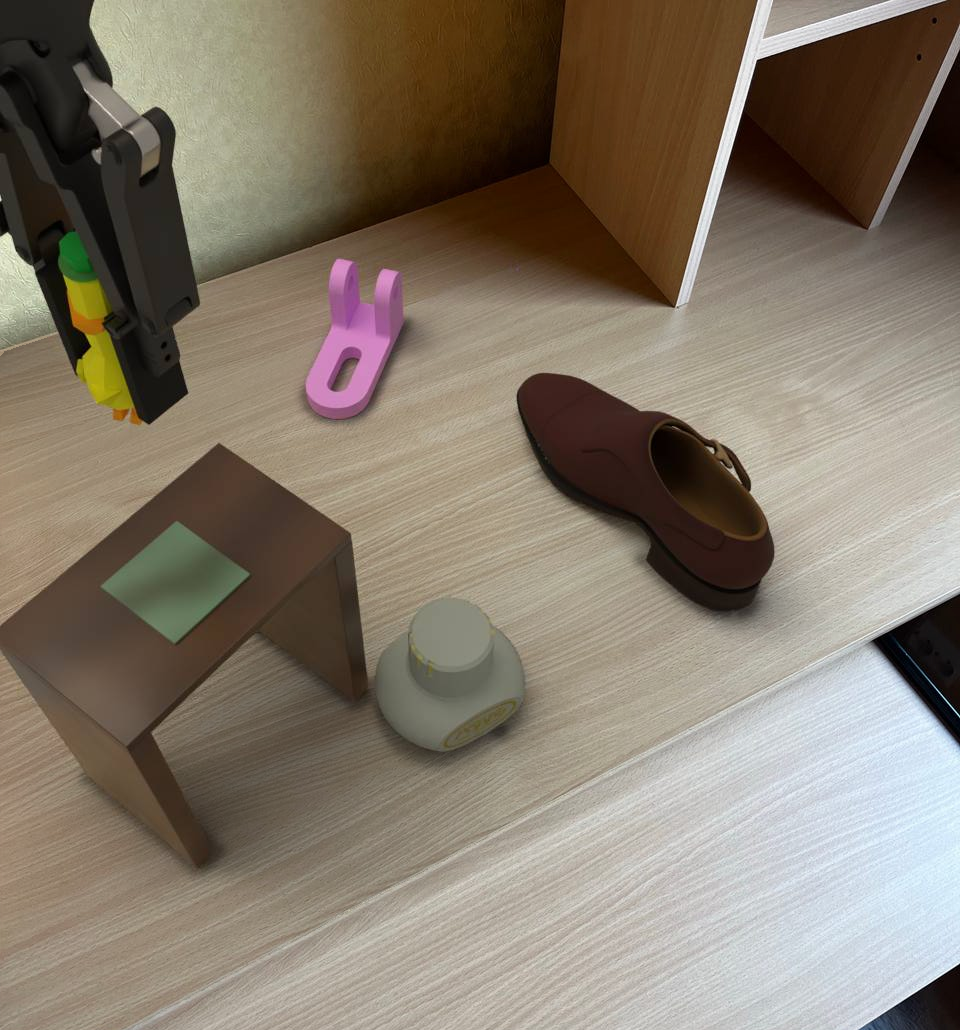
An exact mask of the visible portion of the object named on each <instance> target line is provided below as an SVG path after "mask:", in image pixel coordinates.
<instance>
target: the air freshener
mask: <svg viewBox="0 0 960 1030" xmlns="http://www.w3.org/2000/svg"><path fill="white" fill-rule="evenodd" d="M525 677H526V676H525V668H524V665H523V662H522V658H521V656H520V654H519V652H518V650H517V648H516V647H515V645H514V644H513V642H512V641H511V640H510V638H509V637H508V636H507V635H506V634H505V633H504V632H503V631H502V630H501V629H499V627H497V626H495V625H494V624H493V623H492V621H491V620H490V616H489V615H488V613H487V612H485V611H484V610H483V609H482V608H481V607H480V606H479V605H477V604H476V603H471V602H470V601H469V600H467V599H464V598H459V597H442V598H438V599H434V600H432V601H430V602H428V603H426V604H425V605H423V606H422V607H420V608H419V609H418V610H417V611H416V613H414V615H413V617H412V618H411V619H410V623H409V626H408V630H407V631H405V632H404V633H402V634H401V635H399V636H398V637H397V638H395V639H393V641H392V642H390V644H388V645H387V646H386V647H385V649H383V650H382V652H381V654H379V658H378V660H377V662H376V666H375V674H374V691H375V696H376V701H377V704H378V706H379V708H380V711H381V713H382V715H383V717H384V718H385V720H386V721H387V722H388V724H389V725H390V726H391V727H392V728H393V729H394V731H395V732H396V733H397V734H399V735H400V736H401V737H403V738H404V739H406V741H409V742H410V743H412V744H415V745H417V746H418V747H421V748H424V749H427V750H431V751H437V752H440V753H442V752H443V753H444V752H449V751H453V750H455V749H458V748H461V747H463V746H466V745H467V744H469V743H472V742H473V741H476V740H478V739H479V738H481V737H482V736H485V735H486V734H488V733H489V732H491V731H492V730H494V729H495V728H497V727H498V726H500V725H501V724H502V723H504V722H505V721H506V720H507V719H509V718H510V717H511V716H512V715H513V714H514V713H515V712H516V711H517V710H518V709H519V708H520V707H521V705H522V703H523V699H524V696H525V690H526V678H525Z"/></svg>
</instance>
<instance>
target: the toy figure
mask: <svg viewBox="0 0 960 1030" xmlns="http://www.w3.org/2000/svg"><path fill="white" fill-rule="evenodd" d="M59 246H60V255H59V259H58V265H59V268H60V270H61V272H62V273H63V276H64V280H65V283H66V286H67V289H68V290H67V296H68V301H69V306H70V312H71V317H72V323H73V326H74V327H76V328H77V329H79V330H80V331H82V332H84V333H85V335H86V337H87V339H88V341H89V343H90V345H91V348H90V349H89V350H88V351H87V352H86V353H85V354H84V355H83V356H82V358H83V359H78V363H77V369H76V372H77V374H78V376H77V378H78V379H79V381H80V382H81V383H82V385H84V384H85V383H86V385H87V388H88V390H89V394H90V396H91V397H92V398H93V399H94V401H95V404H96V405H100V406H105V407H109V408H112V420H113V421H118V422H119V421H120V422H124V420H125V419H126V417H127V416H128V414H129V412H130V417H129V424H132V425H136V426H141V425H142V423H143V422H144V421H142V420H141V419H139V418H138V416H137V413H136V410H135V407H134V404H133V401H132V398H131V395H130V393H129V390H128V387H127V384H126V381H125V378H124V375H123V372H122V370H121V367H120V364H119V361H118V358H117V355H116V352H115V349H114V347H113V344H112V341H111V338H110V335H109V333H108V332H107V331H106V330H105V328H104V327H103V325H102V324H101V323H102V322H104V317H105V316H107V315H108V314H109V313H111V312H112V311H113V310H112V308H111V306H110V303H109V301H108V299H107V297H106V295H105V292H104V290H103V288H102V286H101V284H100V282H99V279H98V277H97V275H96V273H95V271H94V269H93V266H92V264H91V262H90V260H89V258H88V256H87V253H86V251H85V249H84V247H83V245H82V243H81V240H80V238H79V236H78V234H77V232H68V233H67V234H66V235H65V236H64V237H63V238H62V239H61V240H60V241H59Z"/></svg>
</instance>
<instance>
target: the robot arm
mask: <svg viewBox="0 0 960 1030" xmlns="http://www.w3.org/2000/svg"><path fill="white" fill-rule="evenodd" d="M94 3H95V0H0V238H1V237H3V236H5V235H6V234H9V236H10V237H11V240H12V243H13V246H14V249H15V252H16V254H17V255H18V256H19V258H20V259H21V260H22V261H23V262H24V263H26V264H27V265H29V266H30V267H31V266H32V269H33V270H34V275H35V278H36V280H37V283H38V285H39V289H40V290H41V293H42V295H43V298H44V301H45V302H46V305H47V307H48V310H49V313H50V315H51V318H52V320H53V322H54V325H55V327H56V330H57V333H58V335H59V337H60V340H61V343H62V346H63V347H64V350H65V352H66V355H67V358H68V360H69V363H70V365H71V367H72V370H73V373H74V376H76V377H78V374H77V372H76V369H77V363H78V359H83V358H82V356H83V355H84V354H85V353H86V352H87V351H88V350H89V349H90V348H91V345H90V343H89V341H88V339H87V337H86V335H85V333H84V332H82V331H80V330H79V329H77V328H76V327H74V326H73V323H72V317H71V312H70V306H69V301H68V296H67V290H68V289H67V286H66V283H65V280H64V276H63V273H62V272H61V270H60V268H59V265H58V259H59V255H60V246H59V241H60V240H61V239H62V238H63V237H64V236H65V235H66V234H67V233H68V232H77V234H78V236H79V238H80V240H81V243H82V245H83V247H84V249H85V251H86V253H87V256H88V258H89V260H90V262H91V264H92V266H93V269H94V271H95V273H96V275H97V277H98V279H99V282H100V284H101V286H102V288H103V290H104V292H105V295H106V297H107V299H108V301H109V303H110V306H111V308H112V310H113V311H112V312H111V313H109V314H108V315H107V316H105V317H104V322H102V323H101V324H102V325H103V327H104V328H105V330H106V331H107V332H108V333H109V335H110V338H111V341H112V344H113V347H114V349H115V352H116V355H117V358H118V361H119V364H120V367H121V370H122V372H123V375H124V378H125V381H126V384H127V387H128V390H129V393H130V395H131V398H132V401H133V404H134V407H135V410H136V413H137V416H138V418H139V419H141V420H142V421H143V422H144V423H145V424H146V425H148V426H150V425H151V424H153V423H154V422H156V420H158V419H159V418H160V417H161V416H163V415H164V414H165V413H166V412H167V411H169V410H170V409H171V408H172V407H174V406H175V405H176V404H177V403H179V401H181V400H182V399H183V398H184V397H186V396H188V394H189V389H188V385H187V383H186V379H185V376H184V371H183V369H182V364H181V362H180V361H181V360H180V359H181V352H180V348H179V346H178V341H177V339H176V334H175V330H174V326H175V325H176V324H178V323H179V322H180V321H181V320H183V319H185V318H186V317H187V316H188V315H189V314H191V313H192V312H194V311H195V310H196V309H197V308H199V307H200V305H201V300H200V295H199V289H198V285H197V280H196V274H195V269H194V266H193V261H192V256H191V250H190V246H189V242H188V241H189V240H188V235H187V231H186V226H185V222H184V221H185V220H184V216H183V212H182V211H183V210H182V206H181V201H180V196H179V192H178V187H177V181H176V178H175V172H174V167H173V162H174V153H175V145H176V137H177V132H176V131H177V130H176V127H175V124H174V122H173V120H172V119H171V116H169V115H168V113H167V112H166V111H165V110H164V109H162V108H161V107H158V106H153V107H151V108H150V109H148V110H147V111H144V113H142V114H141V115H140V114H139V113H138V111H136V110H135V109H134V108H133V107H132V106H131V105H130V104H129V103H128V102H127V101H126V100H125V99H124V98H123V97H122V96H121V95H120V94H119V93H118V92H117V91H116V90H115V89H113V88H114V78H113V73H112V70H111V68H110V67H111V66H110V65H109V62H108V61H107V58H106V56H105V55H104V53H103V52H102V50H101V47H100V45H99V43H98V42H97V39H96V37H95V34H94V32H93V30H92V27H91V24H90V23H91V22H90V21H91V14H92V10H93V7H94Z"/></svg>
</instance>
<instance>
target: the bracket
mask: <svg viewBox="0 0 960 1030" xmlns="http://www.w3.org/2000/svg"><path fill="white" fill-rule="evenodd" d="M357 264H358V263H356V262H355V261H352V260H347V259H343V258H337V259H336V260H335V261H334V263H333V265H332V268H331V270H330V275H329V279H328V300H329V309H330V318H331V327H330V329H329V332H328V334H327V336H326V338H325V340H324V342H323V344H322V346H321V348H320V350H319V352H318V354H317V357H316V359H315V361H314V362H313V365H312V366H311V369H310V371H309V373H308V375H307V377H306V380H305V391H306V399H307V403H308V405H309V406H310V408H311V409H312V410H313V411H314V412H315V413H316V414H317V415H320V416H322V417H325V418H328V419H333V420H344V419H348V418H351V417H354V416H356V415H358V414H360V413H361V412H362V411H364V410H365V409H366V407H367V406H368V404H369V402H370V400H371V398H372V395H373V393H374V391H375V388H376V387H377V384H378V382H379V380H380V377H381V375H382V373H383V371H384V368H385V367H386V364H387V362H388V360H389V357H390V355H391V353H392V351H393V348H394V346H395V344H396V341H397V339H398V337H399V334H400V332H401V330H402V328H403V325H404V322H405V321H404V296H403V295H404V294H403V275H402V273H401V271H396V270H392V269H387V268H382V269H381V271H380V273H379V274H378V276H377V280H376V284H375V289H374V294H373V295H374V296H373V304H372V303H367V302H364V301H361V296H360V295H361V294H360V284H359V283H360V281H359V271H358V265H357ZM348 359H356V360H358V362H357V365H356V367H355V369H354V371H353V373H352V376H351V378H350V381H349V382H348V385H347V386H346V388H345V389H344V390H341V391H333V390H332V387H333V385H334V383H335V380H336V378H337V377H338V375H339V372H340V370H341V368H342V366H343V364H344V362H345V361H347V360H348Z"/></svg>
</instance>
